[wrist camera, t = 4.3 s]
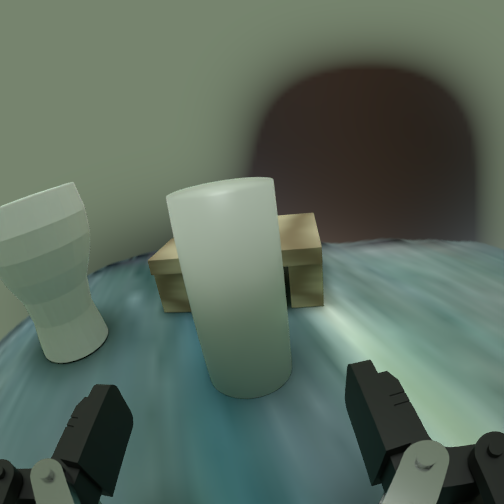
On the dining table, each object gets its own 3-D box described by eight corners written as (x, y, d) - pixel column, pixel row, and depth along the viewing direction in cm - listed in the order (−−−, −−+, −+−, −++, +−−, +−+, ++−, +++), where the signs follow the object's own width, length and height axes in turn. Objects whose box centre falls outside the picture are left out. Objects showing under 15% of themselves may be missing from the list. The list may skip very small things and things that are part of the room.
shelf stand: (316, 258, 39) (313, 212, 37) (323, 308, 28) (321, 247, 25) (196, 267, 41) (187, 224, 39) (162, 314, 30) (147, 260, 28)
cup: (21, 377, 21) (-43, 224, 15) (49, 322, 30) (10, 202, 25) (114, 365, 23) (55, 187, 17) (126, 307, 32) (91, 176, 27)
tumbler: (271, 336, 25) (250, 174, 20) (307, 378, 19) (293, 181, 15) (201, 358, 23) (161, 192, 18) (223, 410, 18) (172, 205, 13)
